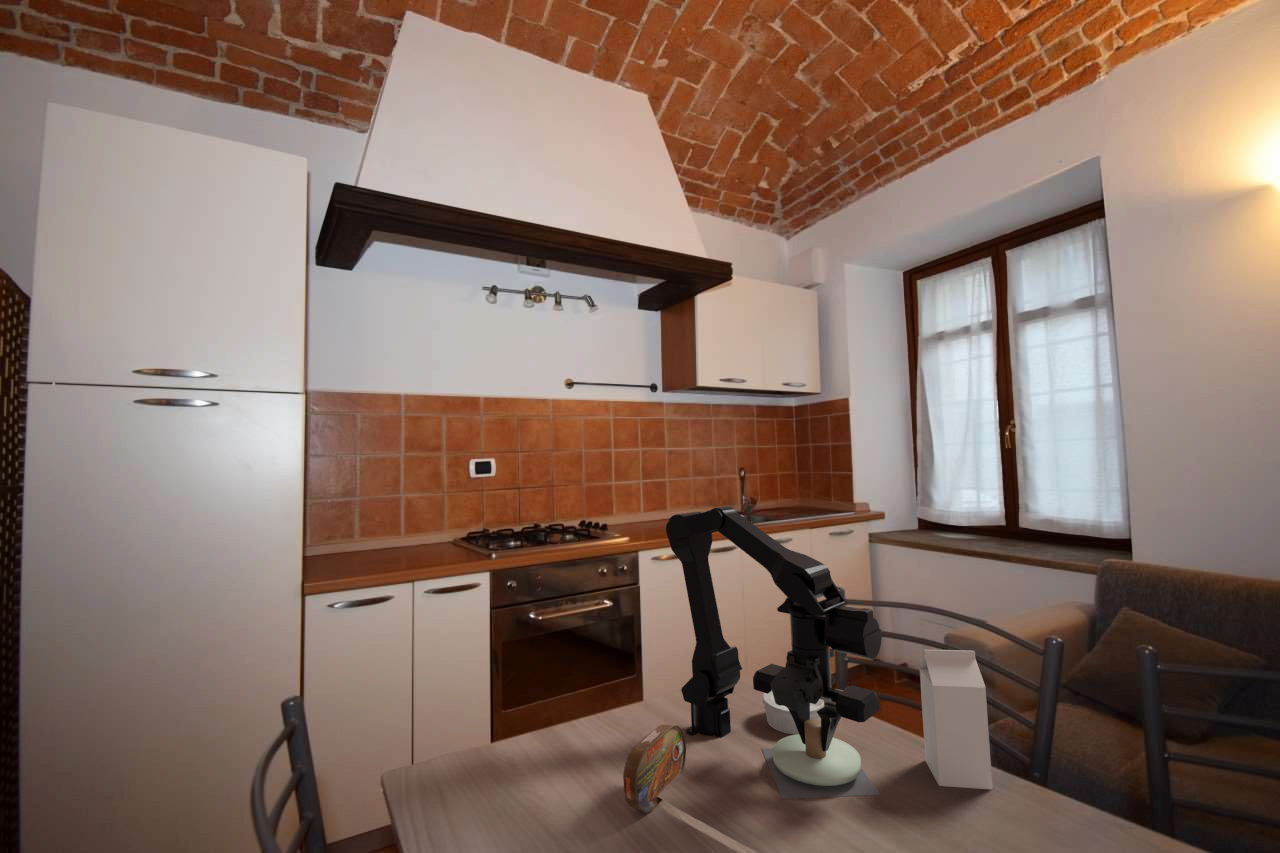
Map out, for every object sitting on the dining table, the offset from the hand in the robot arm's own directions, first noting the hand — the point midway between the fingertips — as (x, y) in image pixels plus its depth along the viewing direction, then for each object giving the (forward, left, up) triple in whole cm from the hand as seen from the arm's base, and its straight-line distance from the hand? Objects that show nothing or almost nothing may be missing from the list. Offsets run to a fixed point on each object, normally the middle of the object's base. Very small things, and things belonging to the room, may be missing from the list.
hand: (815, 746), depth 89 cm
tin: (-15, -20, -5) cm, 25 cm away
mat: (0, 0, -4) cm, 4 cm away
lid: (0, 0, -2) cm, 2 cm away
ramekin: (-11, +12, -5) cm, 17 cm away
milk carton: (+16, +13, -4) cm, 21 cm away
